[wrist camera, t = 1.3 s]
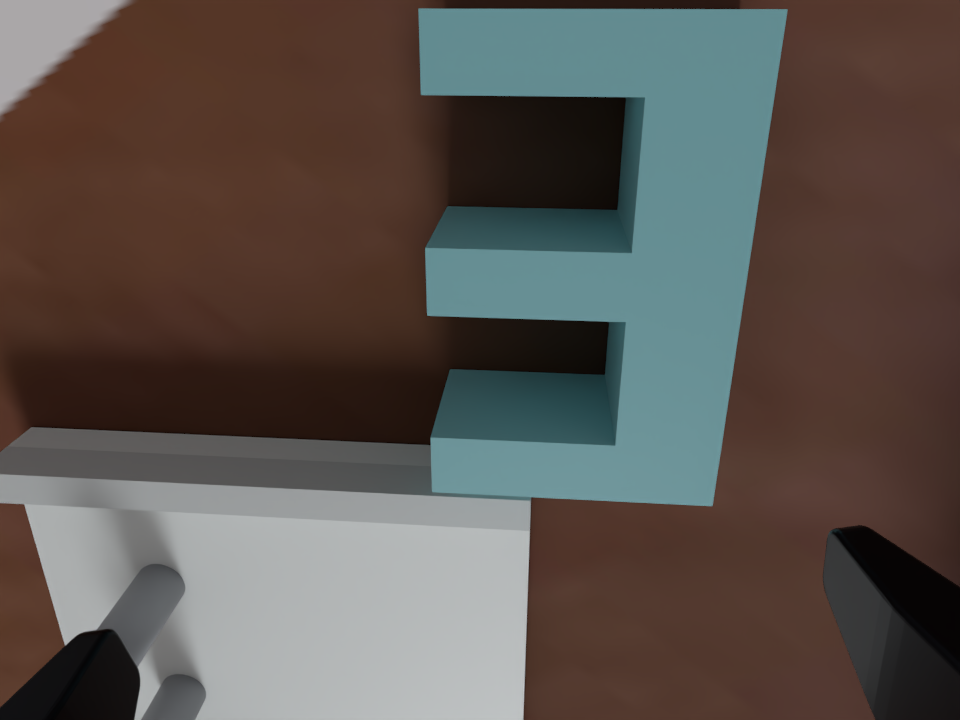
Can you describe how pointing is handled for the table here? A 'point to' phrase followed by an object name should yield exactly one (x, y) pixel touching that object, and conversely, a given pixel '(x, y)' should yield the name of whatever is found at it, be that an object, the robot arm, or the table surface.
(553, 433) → the teal notched block
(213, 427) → the table surface
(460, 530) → the board
